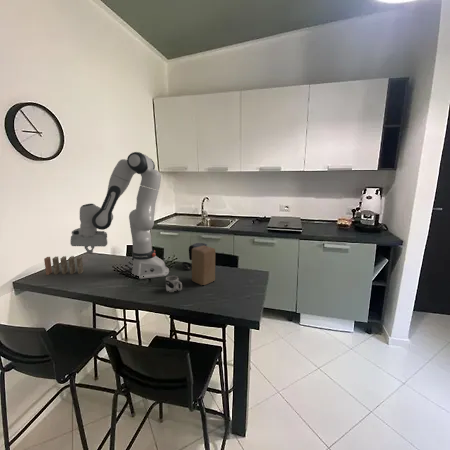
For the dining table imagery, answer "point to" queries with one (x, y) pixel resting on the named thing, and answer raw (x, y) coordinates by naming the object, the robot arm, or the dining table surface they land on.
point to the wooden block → (203, 265)
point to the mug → (173, 284)
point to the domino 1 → (48, 265)
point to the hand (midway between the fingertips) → (89, 253)
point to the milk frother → (191, 255)
